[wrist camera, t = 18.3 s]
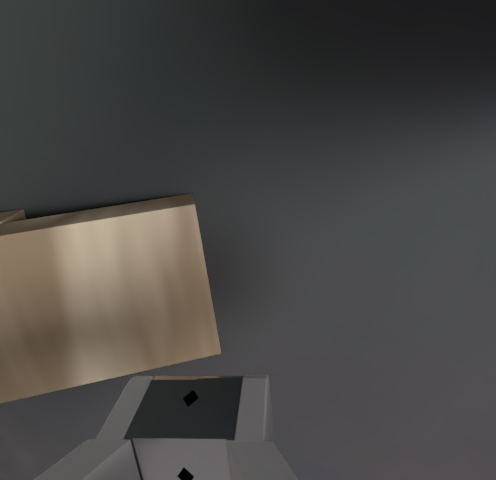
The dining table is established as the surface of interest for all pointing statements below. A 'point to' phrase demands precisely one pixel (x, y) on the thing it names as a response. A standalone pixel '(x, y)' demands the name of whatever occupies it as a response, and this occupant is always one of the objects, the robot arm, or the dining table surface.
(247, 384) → the robot arm
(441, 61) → the dining table surface
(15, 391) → the domino
